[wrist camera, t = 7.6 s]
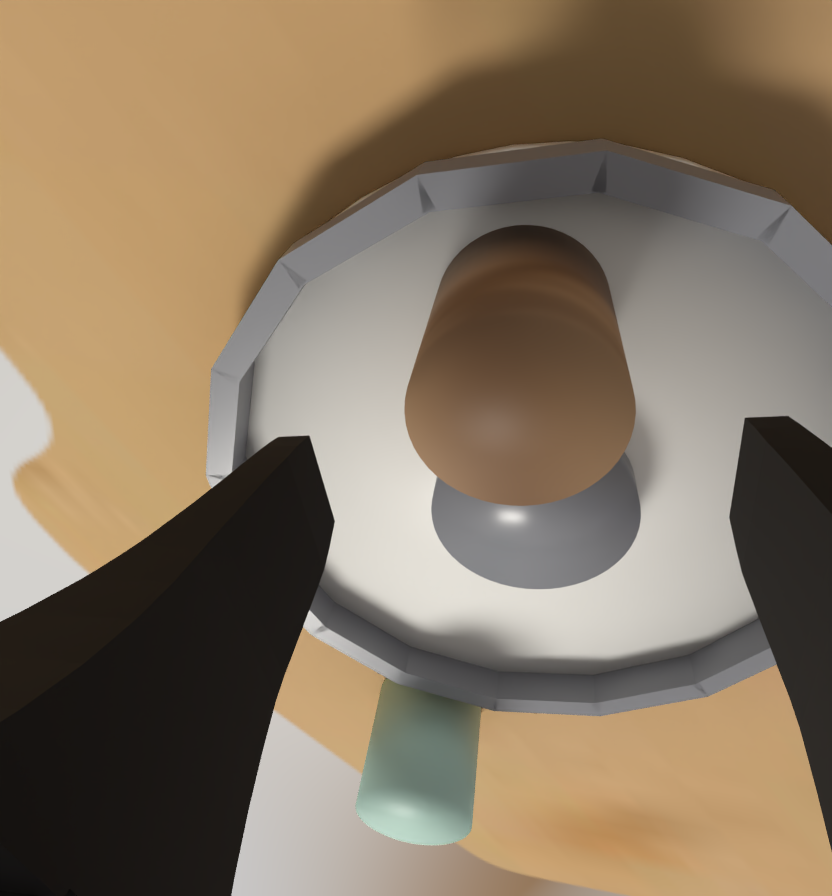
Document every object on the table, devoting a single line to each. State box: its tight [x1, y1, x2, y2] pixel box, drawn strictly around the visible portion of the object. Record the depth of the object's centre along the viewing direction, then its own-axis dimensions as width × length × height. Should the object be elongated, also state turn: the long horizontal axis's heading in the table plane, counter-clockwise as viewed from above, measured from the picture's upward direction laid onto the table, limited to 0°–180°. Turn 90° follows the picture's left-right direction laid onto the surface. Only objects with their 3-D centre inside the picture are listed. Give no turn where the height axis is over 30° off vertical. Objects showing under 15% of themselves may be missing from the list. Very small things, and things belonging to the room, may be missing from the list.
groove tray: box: [206, 138, 832, 716], centre depth 20 cm, size 20×20×2 cm
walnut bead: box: [404, 225, 636, 506], centre depth 15 cm, size 4×4×5 cm
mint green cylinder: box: [356, 678, 481, 845], centre depth 26 cm, size 4×4×5 cm
